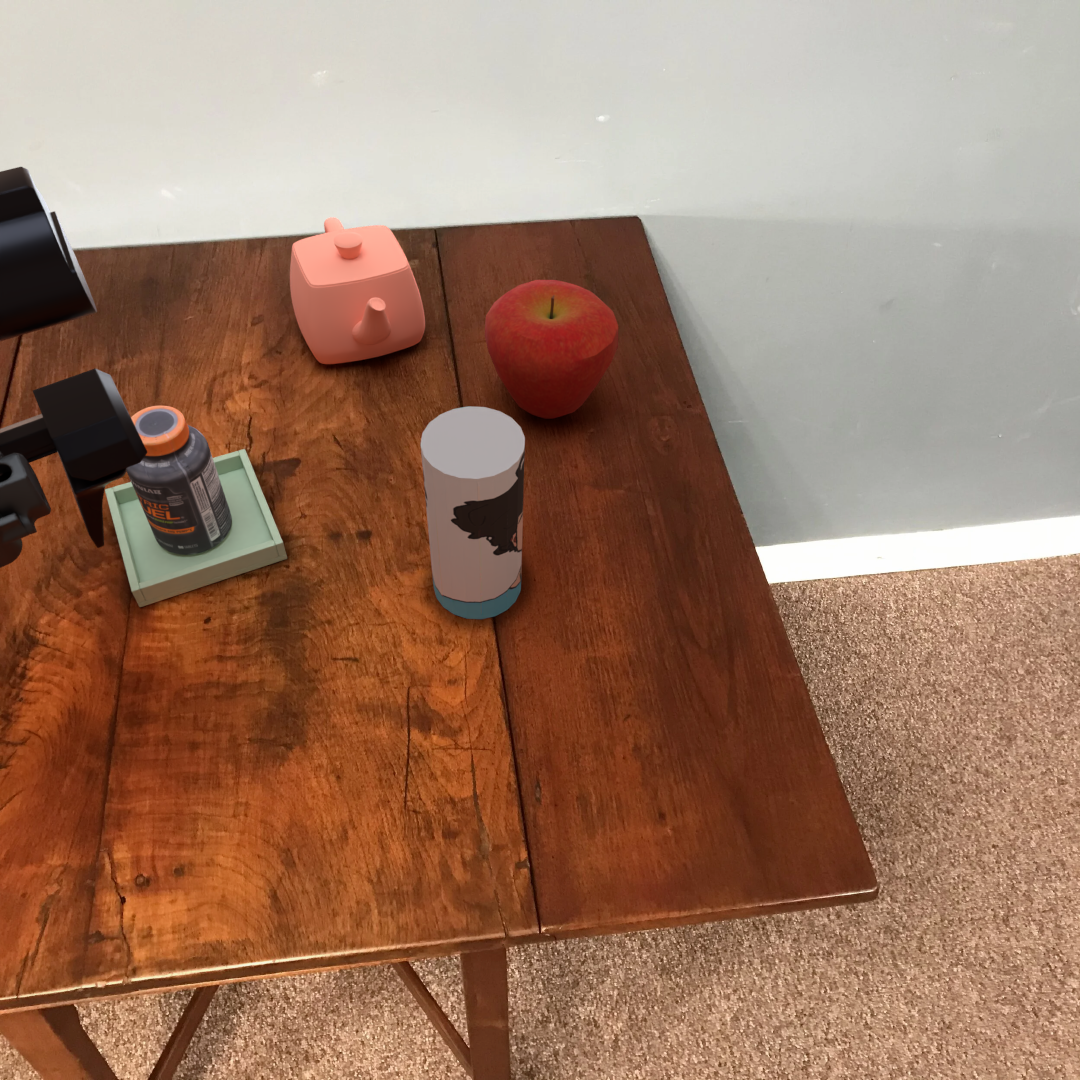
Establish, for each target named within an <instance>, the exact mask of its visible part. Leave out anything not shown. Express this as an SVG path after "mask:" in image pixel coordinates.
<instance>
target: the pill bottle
mask: <svg viewBox="0 0 1080 1080" xmlns="http://www.w3.org/2000/svg"><path fill="white" fill-rule="evenodd" d="M130 417H131V419H132V421H133V423H134V425H135V427H136V429H137V431H138V433H139V435H140V438H141V440H142V442H143V444H144V446H145V448H146V450H147V454H146V455H145V457H144V458H143V459H142V461H141V462H140V463H138V464H135V465H133V466H130V467H128V468H127V471H126V474H127V476H128V478H129V482H131V483H132V485H133V487H134V490H135V492H136V494H137V497H138V499H139V502H140V504H141V506H142V508H143V511H144V513H145V515H146V518H147V520H148V522H149V525H150V527H151V530H152V532H153V535H154V537H155V539H156V541H157V542H158V544H159V545H160V546H161V547H162V548H164V549H165V550H167V551H168V552H171V553H175V554H179V555H193V554H199V553H202V552H205V551H208V550H210V549H212V548H214V547H215V546H217V545H218V544H219V543H221V542H222V541H223V540H224V539H225V537H226V536H227V534H228V533H229V531H230V529H231V525H232V516H231V513H230V509H229V506H228V503H227V500H226V497H225V494H224V492H223V488H222V485H221V482H220V479H219V476H218V473H217V470H216V466H215V464H214V461H213V458H214V457H213V455H212V451H211V447H210V446H209V442H208V440H207V439H206V437H205V436H204V435H203V433H202V432H201V431H199V429H197V428H195V427H193V426H191V425H189V424H188V423H187V421H186V419H185V418H186V417H185V416H184V414H183V413H182V412H181V411H180V410H179V409H177V408H175V407H172V406H169V405H152V406H148V407H145V408H143V409H141V410H139V411H136V412H135V414H133V415H132V416H130Z"/></svg>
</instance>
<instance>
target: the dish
mask: <svg viewBox="0 0 1080 1080" xmlns="http://www.w3.org/2000/svg"><path fill="white" fill-rule="evenodd" d="M212 458H213V461H214V464H215V466H216V470H217V473H218V476H219V479H220V482H221V485H222V488H223V492H224V494H225V497H226V500H227V503H228V506H229V509H230V513H231V516H232V525H231V529H230V531H229V533H228V534H227V536H226V537H225V539H224V540H223V541H222V542H221V543H219V544H218V545H217V546H215V547H214V548H212V549H210V550H208V551H205V552H202V553H199V554H193V555H179V554H175V553H171V552H168V551H167V550H165V549H164V548H162V547H161V546H160V545H159V544H158V542H157V541H156V539H155V537H154V535H153V532H152V530H151V527H150V525H149V522H148V520H147V518H146V515H145V513H144V511H143V508H142V506H141V504H140V502H139V499H138V497H137V494H136V492H135V490H134V487H133V485H132V483H131V481H129V482H125V483H121V484H119V485H115V486H112V487H109V488H105V490H104V494H105V496H106V501H107V505H108V507H109V508H108V509H109V511H110V515H111V519H112V523H113V526H114V530H115V534H116V539H117V542H118V546H119V550H120V553H121V558H122V562H123V566H124V569H125V572H126V576H127V580H128V583H129V587H130V592H131V593H132V595H133V597H134V599H135V601H136V603H137V605H138V607H139V608H143V607H145V606H148V605H152V604H154V603H158V602H160V601H163V600H164V601H165V600H168V599H169V598H172V597H176V596H179V595H182V594H185V593H188V592H191V591H194V590H197V589H200V588H203V587H206V586H209V585H212V584H215V583H219V582H221V581H224V580H227V579H230V578H233V577H236V576H239V575H243V574H246V573H248V572H251V571H254V570H258V569H261V568H263V567H266V566H268V565H269V566H270V565H272V564H276V563H279V562H282V561H285V560H287V559H288V556H287V551H286V547H285V544H284V541H283V539H282V536H281V534H280V531H279V529H278V526H277V524H276V522H275V519H274V517H273V514H272V511H271V509H270V507H269V505H268V502H267V500H266V497H265V495H264V492H263V490H262V487H261V485H260V482H259V480H258V478H257V475H256V472H255V470H254V467H253V465H252V463H251V461H250V457H249V455H248V453H247V451H246V448H243V449H239V450H236V451H232V452H229V453H225V454H222V455H217V456H215V457H212Z"/></svg>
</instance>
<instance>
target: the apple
mask: <svg viewBox="0 0 1080 1080" xmlns="http://www.w3.org/2000/svg"><path fill="white" fill-rule="evenodd" d="M484 319H485V322H484V339H485V343H486V348H487V353H488V355H489V357H490V359H491V361H492V364H493V366H494V369H495V371H496V373H497V376H498V378H499V379H500V380H501V382H502V384H503V385H504V387H505V388H506V390H507V392H508V393H509V395H510V396H511V398H512V399H513V401H514V402H515V404H516V405H517V406H518V407H519V408H520V409H521V410H523V411H525V412H526V413H528V414H530V415H533V416H534V417H538V418H541V419H544V420H550V419H552V420H553V419H556V418H557V419H558V418H561V417H563V416H567V415H569V414H572V413H574V412H576V411H577V410H578V409H580V407H582V406H584V404H585V402H586V401H587V399H588V398H589V397H590V395H592V393H593V392H594V390H595V389H596V387H598V385H599V383H600V381H601V380H602V378H603V377H604V375H605V373H606V372H607V370H608V368H609V367H610V366H611V364H612V362H613V360H614V358H615V355H616V353H617V350H618V349H619V328H620V327H619V324H618V321H617V319H616V316H615V312H614V311H613V310H612V309H611V308H610V307H609V306H608V305H607V304H606V303H605V302H604V301H602V300H601V298H599V297H598V296H597V295H596V294H595V293H593V292H592V291H591V290H589V289H587V288H585V287H582V286H580V285H577V284H575V283H570V282H566V281H562V280H558V279H533V280H532V281H528V282H524V283H521V284H518V285H517V286H515V287H514V288H512V289H510V290H509V291H507V292H505V293H504V294H503V295H501V296H500V297H499V298H498V299H496V300H495V301H494V302H493V303H492V305H491V307H490V309H489V310H488V312H487V313H486V315H485V318H484Z"/></svg>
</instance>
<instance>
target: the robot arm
mask: <svg viewBox="0 0 1080 1080" xmlns="http://www.w3.org/2000/svg"><path fill="white" fill-rule="evenodd" d="M97 313H98V309H97V306H96V304H95V300H94V298H93V295H92V293H91V290H90V288H89V285H88V283H87V280H86V277H85V275H84V273H83V271H82V268H81V266H80V264H79V261H78V259H77V256H76V254H75V252H74V250H73V247H72V245H71V243H70V240H69V238H68V236H67V234H66V232H65V230H64V227H63V225H62V223H61V220H60V219H59V216H58V214H57V213H56V211H55V210H54V211H51V210H50V208H49V206H48V204H47V202H46V200H45V198H44V196H43V194H42V193H41V191H40V190H39V189H38V188H37V185H36V184H35V181H34V179H33V176H32V175H31V173H30V171H29V169H27V168H26V167H23V166H17V167H13V168H9V169H4V170H1V171H0V342H3V341H7V340H10V339H13V338H16V337H20V336H23V335H27V334H30V333H33V332H37V331H39V330H40V331H41V330H44V329H47V328H51V327H54V326H57V325H61V324H64V323H68V322H71V321H75V320H78V319H81V318H84V317H88V316H92V315H95V314H97ZM32 394H33V396H34V398H35V401H36V403H37V406H38V408H39V410H40V414H37V415H34V416H32V417H29V418H26V419H23V420H20V421H18V422H14V423H13V424H10V425H6V426H3V427H1V428H0V569H1V568H3V567H6V566H8V565H10V564H12V563H13V562H15V561H16V560H17V559H18V558H19V557H20V555H21V553H22V550H23V546H24V545H23V540H22V539H23V538H25V537H28V536H31V535H33V534H36V533H37V532H38V530H37V527H36V526H35V524H36V521H38V520H39V519H41V518H43V517H46V516H49V515H51V512H52V508H51V505H50V503H49V500H48V499H47V496H46V494H45V492H44V490H43V487H42V485H41V483H40V481H39V478H38V476H37V474H36V472H35V470H34V468H33V466H32V465H31V464H30V463H32V462H35V461H38V460H41V459H43V458H46V457H49V456H51V455H54V454H57V455H58V457H59V460H60V462H61V465H62V467H63V470H64V473H65V476H66V479H67V481H68V484H69V486H70V489H71V492H72V494H73V497H74V500H75V502H76V505H77V508H78V511H79V513H80V516H81V518H82V521H83V524H84V526H85V528H86V531H87V534H88V537H89V538H90V539H91V541H92V542H93V544H94V545H95V547H96V548H97V549H101V548H102V547H104V546H105V533H104V532H105V531H104V513H103V511H104V510H103V509H104V508H103V505H104V504H103V502H104V495H105V489H106V487H107V486H108V485H109V484H111V483H112V482H115V481H117V480H119V479H122V478H123V477H124V476H125V475H126V474H127V468H128V467H130V466H133V465H135V464H138V463H140V462H141V461H142V459H143V458H144V457H145V455H146V454H147V450H146V448H145V446H144V444H143V442H142V440H141V438H140V435H139V433H138V431H137V429H136V427H135V425H134V423H133V421H132V419H131V417H132V416H131V415H130V413H129V410H128V409H127V406H126V404H125V402H124V400H123V397H122V396H121V394H120V392H119V390H118V388H117V386H116V384H115V381H114V379H113V377H112V376H111V374H109V373H107V372H104V371H102V370H100V369H98V368H92V369H89V370H87V371H84V372H81V373H78V374H75V375H73V376H70V377H67V378H64V379H61V380H58V381H56V382H53V383H50V384H46V385H45V386H41V387H39V388H36V389H33V390H32Z"/></svg>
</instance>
